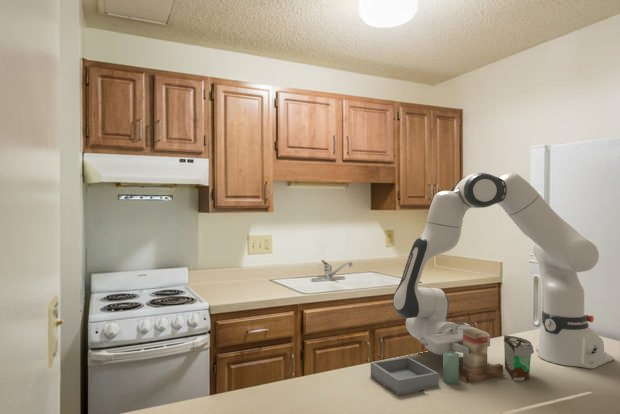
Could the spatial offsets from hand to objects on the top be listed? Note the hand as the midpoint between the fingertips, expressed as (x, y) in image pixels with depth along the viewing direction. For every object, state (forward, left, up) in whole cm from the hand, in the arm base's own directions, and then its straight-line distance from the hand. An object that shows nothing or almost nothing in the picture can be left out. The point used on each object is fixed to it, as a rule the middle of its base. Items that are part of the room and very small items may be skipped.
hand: (477, 349), depth 119 cm
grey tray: (+21, -5, -8) cm, 23 cm away
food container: (-11, +5, -8) cm, 14 cm away
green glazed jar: (+10, +1, -8) cm, 13 cm away
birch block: (0, -1, -6) cm, 6 cm away
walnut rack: (0, -1, -8) cm, 8 cm away
